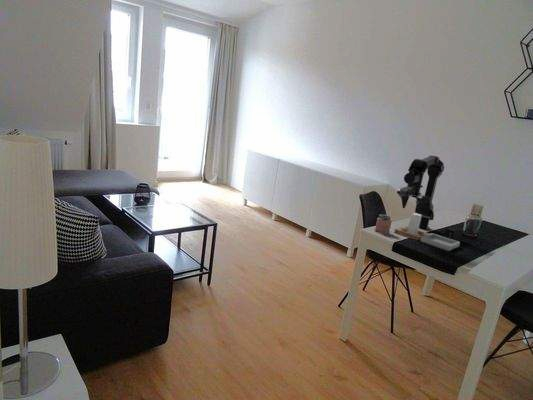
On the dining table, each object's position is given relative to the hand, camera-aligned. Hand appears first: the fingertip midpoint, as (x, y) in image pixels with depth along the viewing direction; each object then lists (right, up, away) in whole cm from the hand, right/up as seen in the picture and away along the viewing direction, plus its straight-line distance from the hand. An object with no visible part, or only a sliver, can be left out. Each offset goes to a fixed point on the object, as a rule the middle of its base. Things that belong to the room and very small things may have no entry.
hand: (409, 210), depth 204 cm
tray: (+14, -18, -5) cm, 23 cm away
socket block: (+3, -14, +5) cm, 15 cm away
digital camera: (+25, -17, +6) cm, 31 cm away
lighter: (-15, -12, +2) cm, 19 cm away
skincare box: (+3, -14, +5) cm, 15 cm away
